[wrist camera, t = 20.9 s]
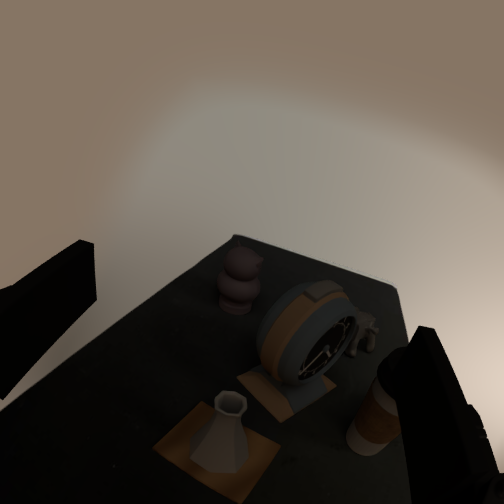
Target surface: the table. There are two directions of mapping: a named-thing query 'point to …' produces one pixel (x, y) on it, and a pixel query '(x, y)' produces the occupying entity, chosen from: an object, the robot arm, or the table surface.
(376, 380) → the coffee cup
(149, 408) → the table surface
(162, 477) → the table surface
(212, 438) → the flask
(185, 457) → the wooden board
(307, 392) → the alarm clock
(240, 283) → the cat figurine
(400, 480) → the table surface
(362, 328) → the gray elephant figurine
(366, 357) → the table surface
